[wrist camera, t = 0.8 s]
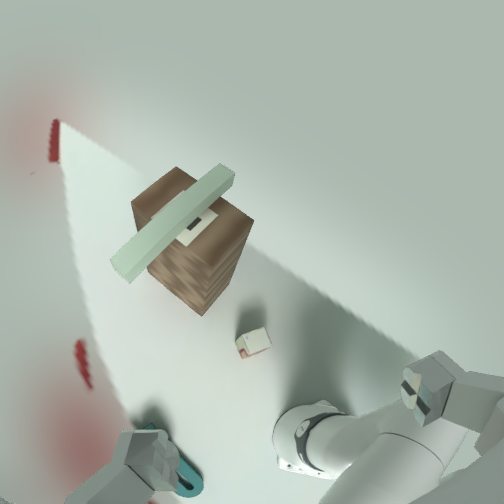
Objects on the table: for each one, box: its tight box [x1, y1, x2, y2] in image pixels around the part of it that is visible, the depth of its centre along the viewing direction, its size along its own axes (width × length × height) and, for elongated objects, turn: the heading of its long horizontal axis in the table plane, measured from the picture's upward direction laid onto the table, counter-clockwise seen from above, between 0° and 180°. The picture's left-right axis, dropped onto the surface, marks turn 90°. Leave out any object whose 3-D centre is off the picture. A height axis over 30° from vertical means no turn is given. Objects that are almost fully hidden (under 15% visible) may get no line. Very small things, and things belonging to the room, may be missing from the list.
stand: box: [131, 167, 254, 316], centre depth 51 cm, size 16×10×26 cm, turn 55°
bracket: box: [142, 423, 204, 498], centre depth 39 cm, size 18×7×8 cm, turn 41°
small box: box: [235, 327, 272, 359], centre depth 55 cm, size 5×4×8 cm
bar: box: [110, 164, 235, 284], centre depth 37 cm, size 3×22×3 cm, turn 145°
